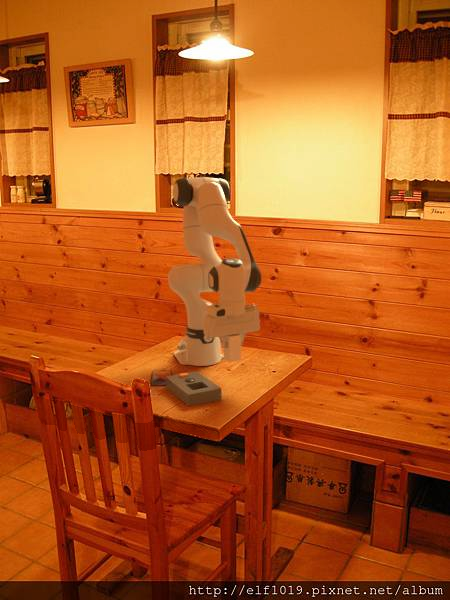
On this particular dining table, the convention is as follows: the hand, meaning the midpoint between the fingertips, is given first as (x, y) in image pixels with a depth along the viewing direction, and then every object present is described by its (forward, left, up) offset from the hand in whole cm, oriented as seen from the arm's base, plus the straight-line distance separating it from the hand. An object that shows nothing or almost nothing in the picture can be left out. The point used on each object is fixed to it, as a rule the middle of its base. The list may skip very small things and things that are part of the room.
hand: (232, 346), depth 213 cm
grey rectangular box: (-2, -14, -15) cm, 21 cm away
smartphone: (-21, -18, -16) cm, 32 cm away
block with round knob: (0, 0, -5) cm, 5 cm away
